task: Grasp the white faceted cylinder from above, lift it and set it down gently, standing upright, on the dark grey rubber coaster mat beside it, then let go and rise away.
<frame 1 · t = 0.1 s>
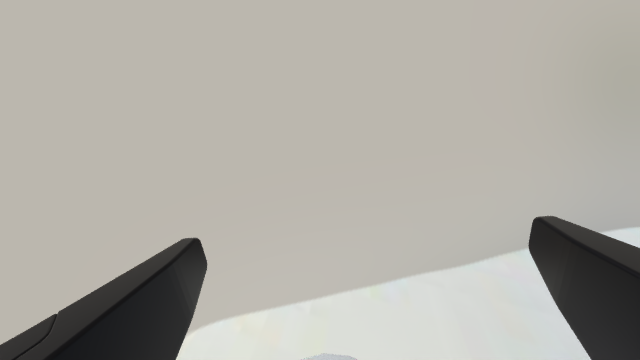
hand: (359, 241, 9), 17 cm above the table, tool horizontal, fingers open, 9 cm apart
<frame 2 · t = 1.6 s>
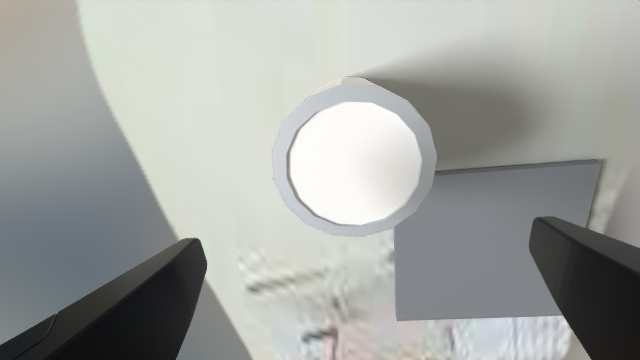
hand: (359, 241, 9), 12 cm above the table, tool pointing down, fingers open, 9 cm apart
white faceted cylinder: (349, 123, 20), on the table
coaster mat: (482, 247, 23), on the table
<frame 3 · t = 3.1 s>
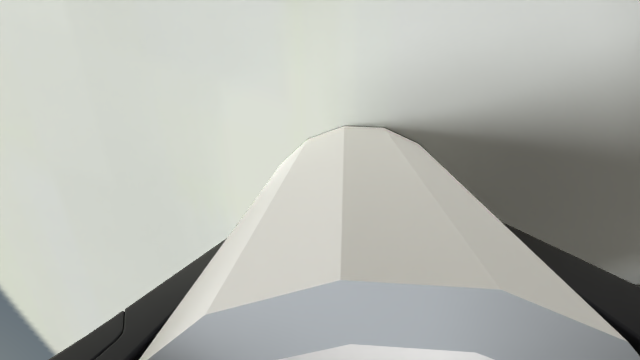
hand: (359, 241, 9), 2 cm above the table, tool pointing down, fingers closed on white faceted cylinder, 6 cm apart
white faceted cylinder: (356, 209, 11), on the table, touching gripper
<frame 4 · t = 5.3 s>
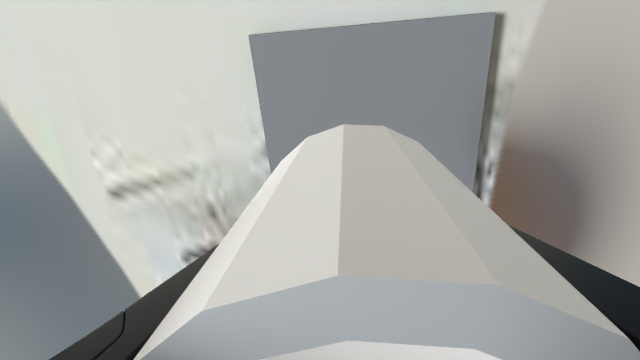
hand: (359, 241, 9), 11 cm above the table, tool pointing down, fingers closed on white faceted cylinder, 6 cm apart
white faceted cylinder: (356, 207, 11), point 10 cm above the table, touching gripper
coaster mat: (369, 137, 19), on the table
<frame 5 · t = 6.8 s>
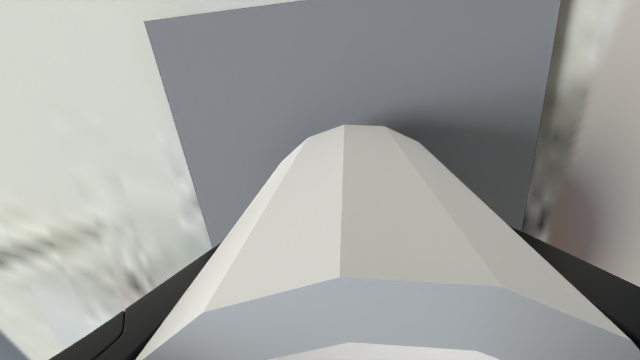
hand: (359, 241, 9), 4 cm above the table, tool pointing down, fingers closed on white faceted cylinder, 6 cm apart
white faceted cylinder: (356, 208, 11), point 2 cm above the table, touching gripper
coaster mat: (355, 177, 13), on the table
when the fingers open (3 cm above the table, at t = 7.9 s): white faceted cylinder drops 1 cm, resting on coaster mat.
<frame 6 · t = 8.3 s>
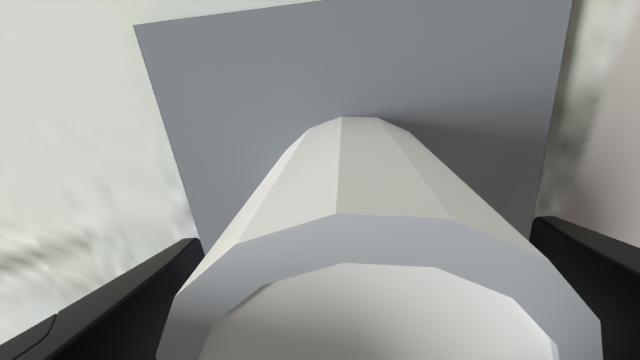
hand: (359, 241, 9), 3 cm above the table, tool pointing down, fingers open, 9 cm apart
white faceted cylinder: (354, 192, 12), resting on coaster mat
coaster mat: (355, 186, 12), on the table
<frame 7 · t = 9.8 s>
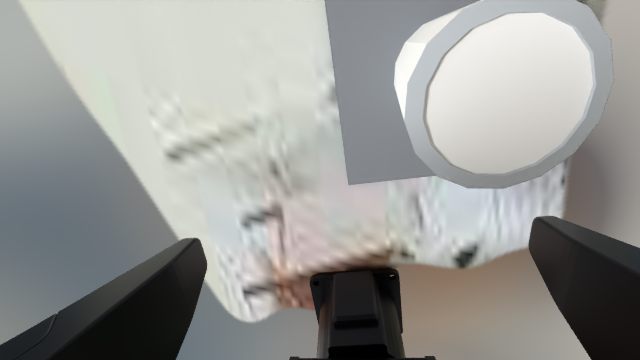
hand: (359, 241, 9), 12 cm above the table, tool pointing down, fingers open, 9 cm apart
white faceted cylinder: (446, 72, 18), resting on coaster mat
coaster mat: (445, 70, 18), on the table
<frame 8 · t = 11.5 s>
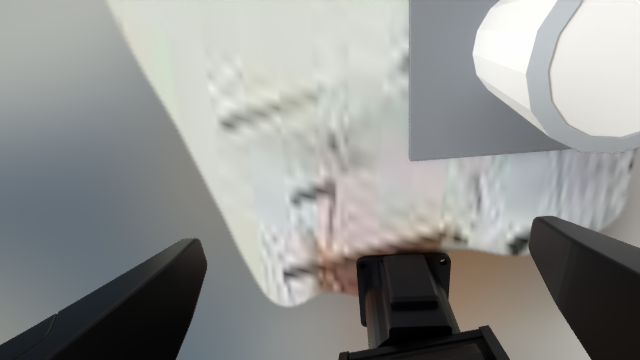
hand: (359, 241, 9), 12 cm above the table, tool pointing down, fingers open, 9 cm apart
white faceted cylinder: (527, 43, 17), resting on coaster mat
coaster mat: (525, 42, 18), on the table
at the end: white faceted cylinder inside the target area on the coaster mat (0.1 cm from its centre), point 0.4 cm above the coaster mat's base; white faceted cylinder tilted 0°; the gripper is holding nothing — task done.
